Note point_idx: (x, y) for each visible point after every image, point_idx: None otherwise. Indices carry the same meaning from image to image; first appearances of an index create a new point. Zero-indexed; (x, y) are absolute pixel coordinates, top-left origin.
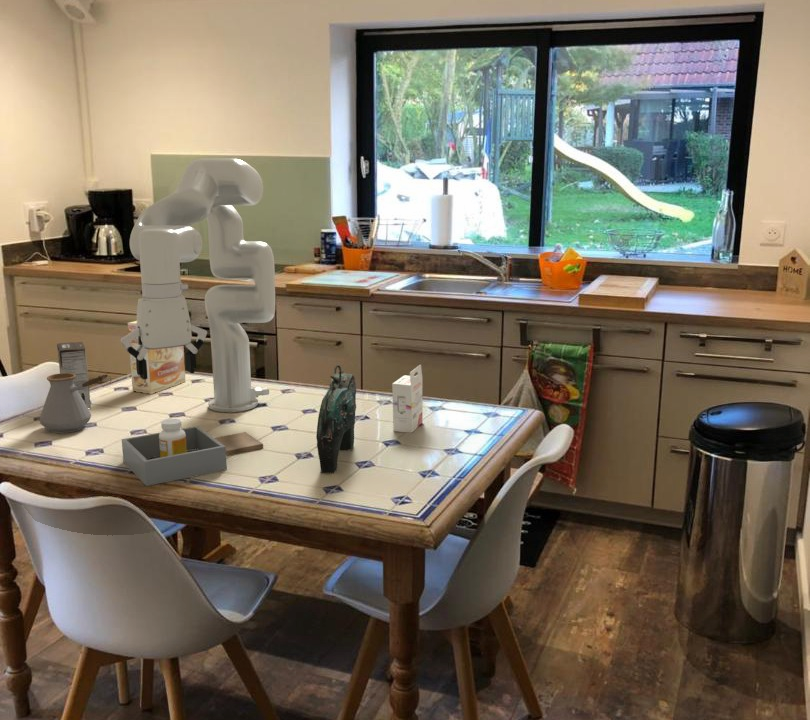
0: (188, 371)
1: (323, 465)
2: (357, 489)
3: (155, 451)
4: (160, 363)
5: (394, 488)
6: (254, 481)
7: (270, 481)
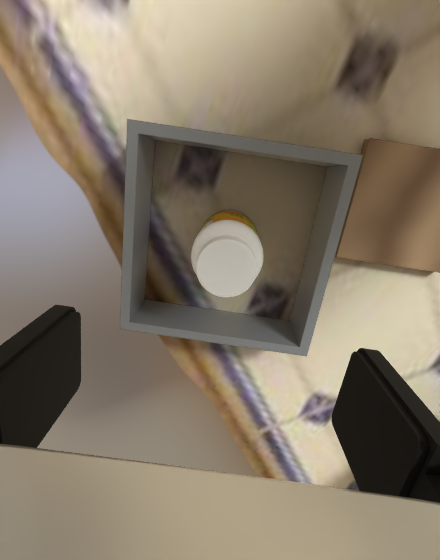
0: (342, 384)
1: None
2: None
3: (222, 149)
4: None
5: None
6: (295, 402)
7: (315, 418)
